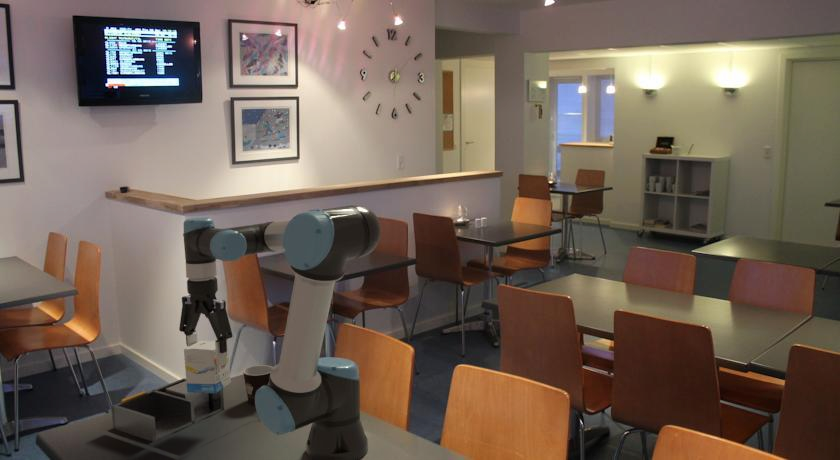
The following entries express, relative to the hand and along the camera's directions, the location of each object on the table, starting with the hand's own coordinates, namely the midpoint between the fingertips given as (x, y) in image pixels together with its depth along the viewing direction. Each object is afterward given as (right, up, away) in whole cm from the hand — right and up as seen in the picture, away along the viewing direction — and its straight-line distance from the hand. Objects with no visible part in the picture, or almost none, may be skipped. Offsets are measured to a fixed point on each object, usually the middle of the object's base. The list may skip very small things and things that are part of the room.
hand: (207, 361), depth 192 cm
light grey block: (-9, -16, +14) cm, 23 cm away
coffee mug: (+10, -16, +19) cm, 27 cm away
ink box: (0, -7, +1) cm, 7 cm away
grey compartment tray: (-12, -18, +8) cm, 23 cm away
